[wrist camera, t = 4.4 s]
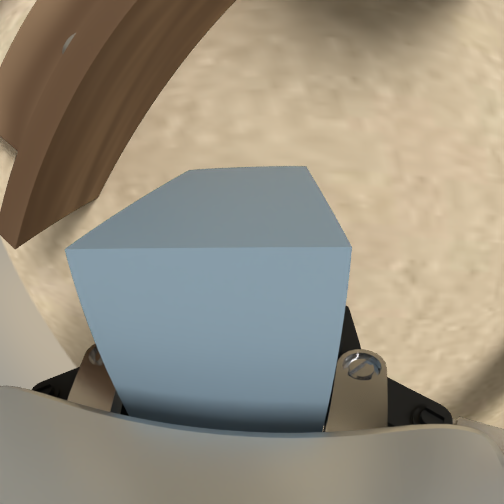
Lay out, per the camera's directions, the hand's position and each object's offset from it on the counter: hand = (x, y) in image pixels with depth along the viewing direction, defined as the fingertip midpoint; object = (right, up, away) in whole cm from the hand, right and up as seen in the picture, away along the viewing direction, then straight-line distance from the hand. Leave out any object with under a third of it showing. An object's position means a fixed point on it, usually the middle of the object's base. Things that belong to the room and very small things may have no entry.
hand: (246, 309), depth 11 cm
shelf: (-8, +13, 0) cm, 16 cm away
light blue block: (0, 0, +1) cm, 1 cm away
